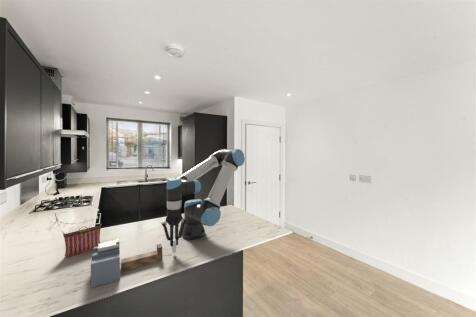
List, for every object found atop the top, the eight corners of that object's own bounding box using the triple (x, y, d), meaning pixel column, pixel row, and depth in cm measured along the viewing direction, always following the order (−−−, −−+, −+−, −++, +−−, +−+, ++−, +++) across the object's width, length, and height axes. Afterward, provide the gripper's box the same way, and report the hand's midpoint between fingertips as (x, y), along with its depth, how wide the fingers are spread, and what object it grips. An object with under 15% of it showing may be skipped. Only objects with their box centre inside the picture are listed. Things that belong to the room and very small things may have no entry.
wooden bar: (160, 256, 102) (160, 243, 102) (162, 260, 99) (162, 246, 98) (121, 267, 92) (120, 253, 92) (121, 271, 89) (120, 257, 89)
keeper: (119, 246, 92) (119, 237, 92) (119, 251, 88) (119, 241, 88) (98, 251, 88) (98, 241, 88) (97, 256, 84) (97, 246, 83)
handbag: (52, 260, 98) (50, 211, 97) (101, 244, 114) (100, 202, 113) (54, 265, 94) (53, 214, 92) (105, 248, 110) (104, 205, 109)
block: (119, 261, 97) (119, 239, 97) (120, 279, 84) (119, 253, 83) (95, 267, 92) (94, 244, 91) (91, 288, 78) (90, 260, 78)
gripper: (184, 204, 109) (184, 245, 110) (159, 207, 102) (159, 251, 103) (188, 208, 103) (188, 251, 104) (162, 211, 96) (162, 258, 97)
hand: (174, 251), depth 103 cm, fingers closed
